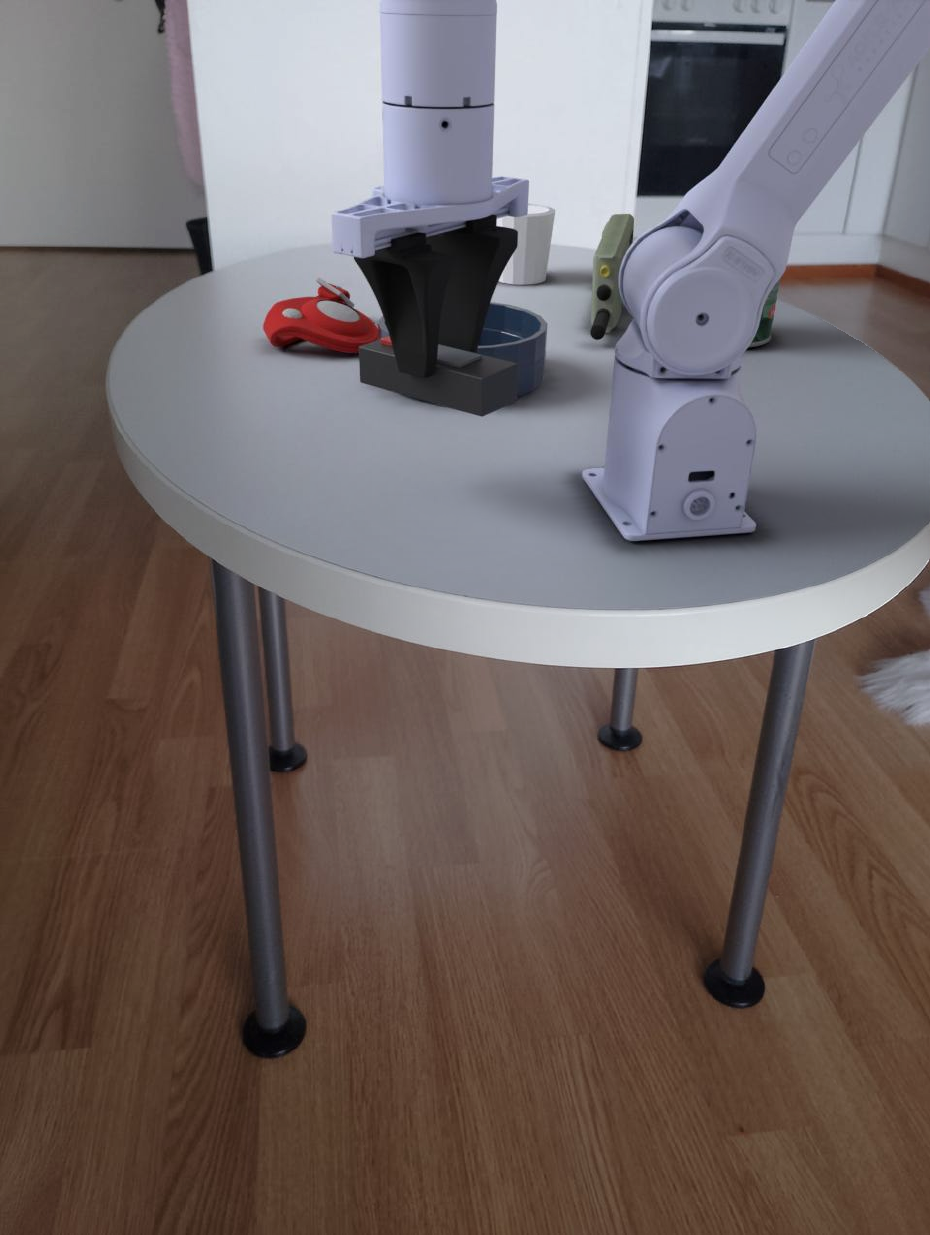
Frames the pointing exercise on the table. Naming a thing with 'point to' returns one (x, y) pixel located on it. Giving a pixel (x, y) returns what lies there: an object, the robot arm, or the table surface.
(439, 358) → the remote
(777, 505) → the table surface
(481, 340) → the bowl
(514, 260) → the white cup
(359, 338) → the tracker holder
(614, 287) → the handheld radio
